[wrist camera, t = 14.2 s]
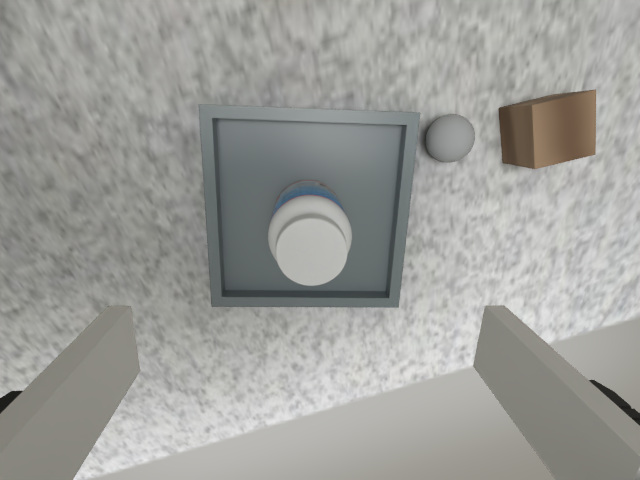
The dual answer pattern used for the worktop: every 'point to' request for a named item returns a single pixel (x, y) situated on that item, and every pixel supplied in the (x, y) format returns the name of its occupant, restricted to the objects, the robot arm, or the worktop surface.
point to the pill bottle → (309, 233)
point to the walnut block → (549, 129)
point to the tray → (295, 165)
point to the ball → (450, 138)
